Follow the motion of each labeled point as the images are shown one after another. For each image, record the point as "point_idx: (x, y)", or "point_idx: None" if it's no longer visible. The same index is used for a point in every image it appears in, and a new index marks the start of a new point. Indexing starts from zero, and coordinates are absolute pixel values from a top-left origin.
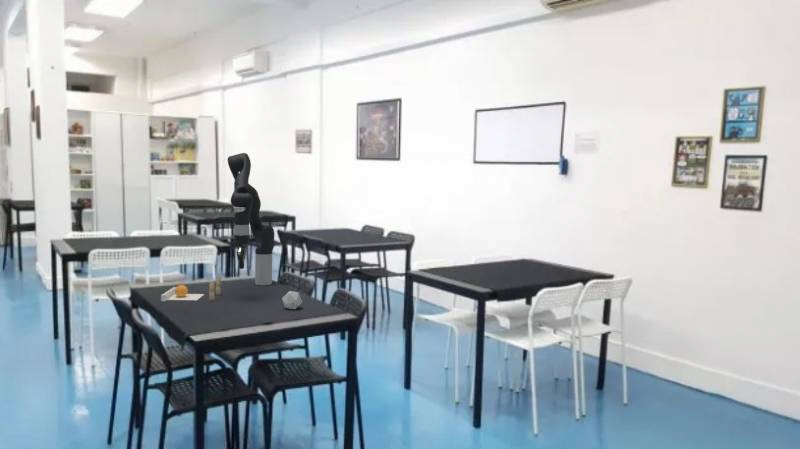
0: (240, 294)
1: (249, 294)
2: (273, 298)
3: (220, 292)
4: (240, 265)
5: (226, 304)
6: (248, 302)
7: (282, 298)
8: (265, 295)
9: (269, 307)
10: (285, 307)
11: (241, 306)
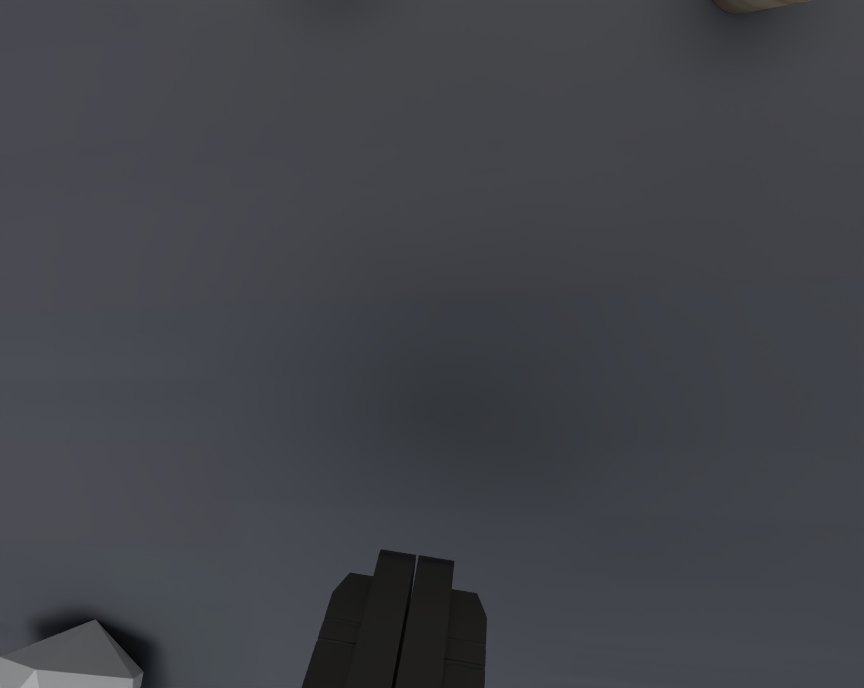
0: (705, 288)
1: (681, 385)
2: None
3: (741, 9)
4: (322, 639)
5: (145, 164)
6: (267, 380)
7: (29, 673)
8: (595, 525)
9: (100, 530)
10: (81, 625)
11: (86, 322)
